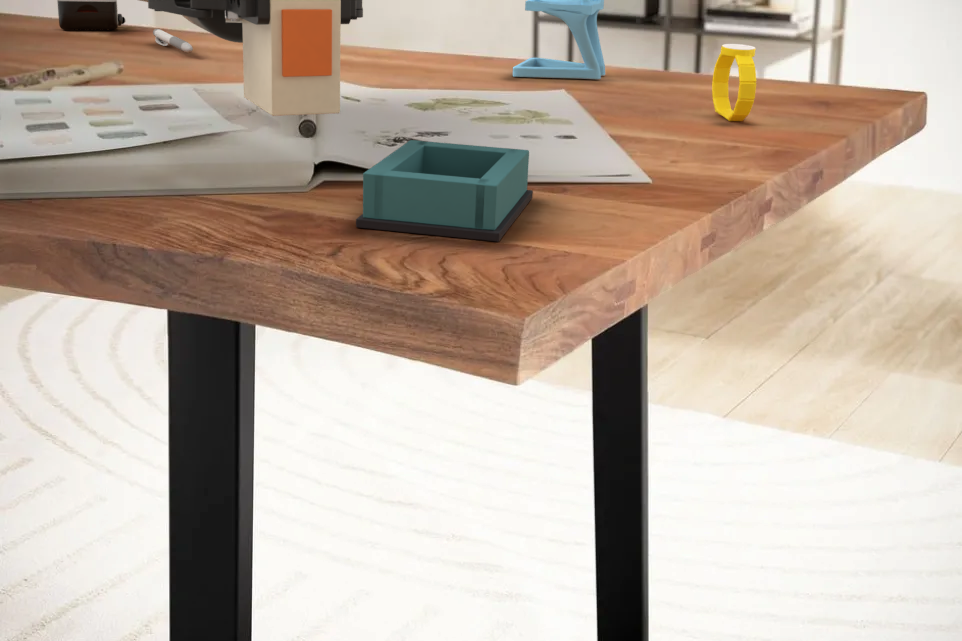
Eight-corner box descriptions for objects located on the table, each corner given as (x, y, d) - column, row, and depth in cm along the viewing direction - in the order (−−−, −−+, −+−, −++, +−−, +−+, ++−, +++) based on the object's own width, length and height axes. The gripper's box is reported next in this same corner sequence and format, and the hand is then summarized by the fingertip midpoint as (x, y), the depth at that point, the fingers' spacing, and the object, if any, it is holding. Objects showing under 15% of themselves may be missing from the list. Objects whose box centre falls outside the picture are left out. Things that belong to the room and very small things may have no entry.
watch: (701, 111, 105) (708, 40, 103) (731, 111, 106) (739, 41, 104) (728, 125, 99) (736, 50, 97) (760, 125, 100) (768, 51, 98)
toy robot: (243, 97, 73) (240, -79, 70) (307, 95, 75) (307, -76, 72) (273, 117, 68) (271, -72, 65) (341, 114, 70) (343, -70, 66)
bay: (405, 186, 76) (406, 138, 75) (532, 198, 75) (535, 149, 74) (355, 227, 67) (355, 173, 66) (498, 242, 65) (501, 187, 64)
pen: (160, 40, 133) (159, 26, 132) (196, 58, 122) (196, 44, 121) (150, 40, 132) (150, 27, 132) (186, 59, 121) (186, 44, 121)
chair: (595, 83, 117) (604, -48, 112) (511, 76, 119) (517, -53, 115) (609, 72, 124) (618, -52, 120) (529, 66, 126) (536, -56, 122)
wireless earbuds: (125, 31, 139) (124, 1, 137) (59, 30, 137) (56, 0, 136) (126, 26, 143) (124, -3, 142) (61, 25, 141) (59, -4, 140)
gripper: (113, -86, 77) (172, -71, 63) (328, -79, 83) (427, -64, 69) (119, 35, 80) (177, 76, 65) (328, 33, 86) (423, 71, 71)
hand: (305, 4), depth 67 cm, fingers closed on toy robot, 4 cm apart
